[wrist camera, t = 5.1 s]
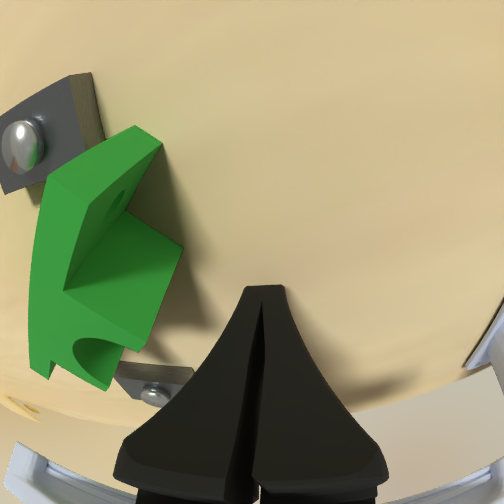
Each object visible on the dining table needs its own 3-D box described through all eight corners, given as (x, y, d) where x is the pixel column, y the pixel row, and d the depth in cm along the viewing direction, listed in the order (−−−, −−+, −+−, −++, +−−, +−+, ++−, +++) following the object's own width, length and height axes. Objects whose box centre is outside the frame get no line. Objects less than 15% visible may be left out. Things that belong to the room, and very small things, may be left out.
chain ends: (90, 72, 7) (56, 77, 5) (204, 391, 17) (199, 415, 15) (4, 119, 7) (-26, 132, 6) (136, 384, 17) (130, 405, 16)
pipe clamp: (121, 337, 15) (93, 406, 11) (66, 303, 13) (29, 367, 10) (232, 185, 9) (202, 282, 5) (137, 122, 8) (43, 177, 4)
